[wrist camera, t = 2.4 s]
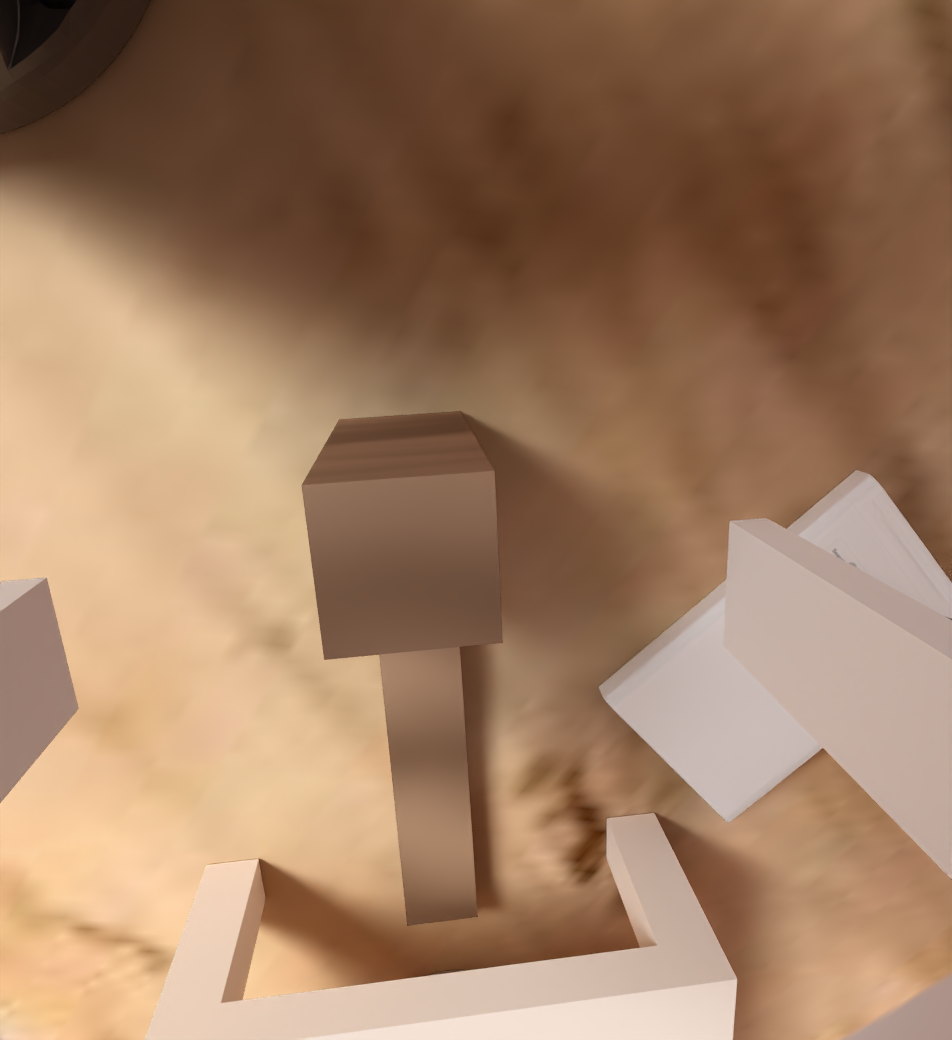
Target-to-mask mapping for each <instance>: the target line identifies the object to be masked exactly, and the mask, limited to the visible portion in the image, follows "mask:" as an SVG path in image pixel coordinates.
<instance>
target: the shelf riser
mask: <svg viewBox="0 0 952 1040" xmlns="http://www.w3.org/2000/svg"><path fill="white" fill-rule="evenodd" d="M607 861H608V863H609V866H610V869H611V871H612V874H613V877H614V879H615V882H616V885H617V887H618V890H619V893H620V896H621V898H622V901H623V904H624V906H625V909H626V912H627V914H628V917H629V920H630V922H631V925H632V928H633V931H634V933H635V936H636V939H637V941H638V944H639V947H640V948H635V949H627V950H619V951H612V952H604V953H597V954H589V955H582V956H574V957H566V958H559V959H551V960H544V961H536V962H529V963H521V964H513V965H506V966H498V967H491V968H483V969H476V970H468V971H460V972H453V973H445V974H438V975H430V976H423V977H415V978H407V979H400V980H392V981H385V982H377V983H370V984H362V985H354V986H347V987H339V988H332V989H324V990H316V991H309V992H301V993H294V994H286V995H279V996H271V997H263V998H256V999H248V1000H242V999H243V995H244V991H245V986H246V982H247V978H248V973H249V969H250V965H251V960H252V956H253V952H254V948H255V943H256V939H257V935H258V930H259V926H260V922H261V917H262V913H263V909H264V904H265V900H266V898H265V892H264V887H263V881H262V876H261V870H260V864H259V859H253V860H244V861H236V862H227V863H219V864H210V865H206V868H205V870H204V873H203V876H202V879H201V882H200V885H199V887H198V890H197V893H196V896H195V899H194V902H193V904H192V907H191V910H190V913H189V916H188V919H187V921H186V924H185V927H184V930H183V933H182V936H181V938H180V941H179V944H178V947H177V950H176V953H175V955H174V958H173V961H172V964H171V967H170V970H169V972H168V975H167V978H166V981H165V984H164V987H163V989H162V992H161V995H160V998H159V1001H158V1004H157V1006H156V1009H155V1012H154V1015H153V1018H152V1020H151V1023H150V1026H149V1029H148V1032H147V1035H146V1037H145V1040H733V1030H734V1017H735V1003H736V990H737V978H736V976H735V974H734V972H733V970H732V968H731V966H730V964H729V962H728V960H727V958H726V956H725V954H724V952H723V950H722V948H721V946H720V944H719V942H718V940H717V938H716V936H715V934H714V932H713V930H712V928H711V926H710V924H709V922H708V920H707V918H706V916H705V914H704V912H703V910H702V908H701V906H700V904H699V902H698V900H697V898H696V896H695V894H694V892H693V890H692V888H691V886H690V884H689V882H688V880H687V878H686V876H685V874H684V872H683V870H682V868H681V866H680V864H679V861H678V859H677V857H676V855H675V853H674V851H673V849H672V847H671V845H670V843H669V841H668V839H667V837H666V835H665V833H664V831H663V829H662V827H661V825H660V823H659V821H658V819H657V817H656V815H655V813H648V814H640V815H631V816H623V817H614V818H607Z"/></svg>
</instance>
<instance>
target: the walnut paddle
mask: <svg viewBox="0 0 952 1040" xmlns="http://www.w3.org/2000/svg"><path fill="white" fill-rule="evenodd" d="M302 492H303V499H304V507H305V515H306V522H307V530H308V538H309V546H310V553H311V561H312V569H313V576H314V584H315V592H316V599H317V607H318V615H319V623H320V630H321V638H322V646H323V653H324V660H327V659H337V658H348V657H358V656H369V655H379V656H380V666H381V676H382V685H383V695H384V704H385V714H386V724H387V733H388V743H389V753H390V762H391V772H392V781H393V791H394V801H395V810H396V820H397V830H398V839H399V849H400V858H401V868H402V878H403V887H404V897H405V907H406V916H407V926H409V925H417V924H425V923H433V922H441V921H448V920H456V919H464V918H472V917H478V915H477V900H476V885H475V870H474V854H473V839H472V824H471V809H470V794H469V779H468V764H467V748H466V733H465V718H464V703H463V688H462V673H461V657H460V647H464V646H474V645H485V644H496V643H503V641H502V619H501V597H500V575H499V553H498V532H497V510H496V488H495V471H494V469H493V467H492V465H491V464H490V462H489V460H488V458H487V457H486V455H485V453H484V451H483V450H482V448H481V446H480V444H479V443H478V441H477V439H476V437H475V436H474V434H473V432H472V430H471V429H470V427H469V425H468V423H467V422H466V420H465V418H464V416H463V415H462V413H461V411H458V412H443V413H429V414H414V415H399V416H384V417H369V418H354V419H339V421H338V423H337V424H336V426H335V428H334V430H333V431H332V433H331V435H330V437H329V438H328V440H327V442H326V444H325V445H324V447H323V449H322V451H321V452H320V454H319V456H318V458H317V459H316V461H315V463H314V465H313V466H312V468H311V470H310V472H309V473H308V475H307V477H306V479H305V480H304V482H303V484H302Z"/></svg>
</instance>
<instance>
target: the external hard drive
mask: <svg viewBox="0 0 952 1040" xmlns="http://www.w3.org/2000/svg"><path fill="white" fill-rule="evenodd" d="M786 529H787V530H789V531H791V532H793V533H794V534H796V535H798V536H800V537H802V538H803V539H805V540H807V541H809V542H811V543H813V544H814V545H816V546H818V547H820V548H822V549H823V550H825V551H827V552H829V553H831V554H832V555H834V556H836V557H838V558H840V559H842V560H843V561H845V562H847V563H849V564H851V565H852V566H854V567H856V568H858V569H860V570H861V571H863V572H865V573H867V574H869V575H871V576H872V577H874V578H876V579H878V580H880V581H881V582H883V583H885V584H887V585H889V586H890V587H892V588H894V589H896V590H898V591H900V592H901V593H903V594H905V595H907V596H909V597H910V598H912V599H914V600H916V601H918V602H920V603H921V604H923V605H925V606H927V607H929V608H930V609H932V610H934V611H936V612H938V613H939V614H941V615H943V616H945V617H948V618H951V619H952V582H951V581H950V579H949V578H948V577H947V576H946V574H945V573H944V571H943V570H942V569H941V567H940V566H939V565H938V563H937V562H936V560H935V559H934V558H933V556H932V555H931V553H930V552H929V550H928V549H927V548H926V546H925V545H924V544H923V542H922V541H921V540H920V538H919V537H918V535H917V534H916V533H915V531H914V530H913V529H912V527H911V526H910V524H909V523H908V522H907V520H906V519H905V517H904V516H903V515H902V513H901V512H900V511H899V509H898V508H897V507H896V505H895V504H894V502H893V501H892V500H891V498H890V497H889V496H888V494H887V493H886V491H885V490H884V488H883V487H882V486H881V485H880V484H879V483H878V481H877V480H876V479H875V478H874V477H873V476H871V475H870V474H867V473H864V472H862V471H858V470H855V471H854V472H853V473H852V474H850V475H849V476H848V477H847V478H846V479H844V480H843V481H842V482H841V483H840V484H838V485H837V486H836V487H835V488H834V489H833V490H831V491H830V492H829V493H828V494H827V495H825V496H824V497H823V498H822V499H821V500H820V501H818V502H817V503H816V504H815V505H814V506H812V507H811V508H810V509H809V510H808V511H807V512H805V513H804V514H803V515H802V516H801V517H799V518H798V519H797V520H796V521H795V522H793V523H792V524H791V525H790V526H789V527H787V528H786ZM726 581H727V579H726V580H724V581H723V582H722V583H721V584H720V585H719V586H717V587H716V588H715V589H714V590H713V591H712V592H710V593H709V594H708V595H707V596H706V597H704V598H703V599H702V600H701V601H700V602H699V603H697V604H696V605H695V606H694V607H693V608H691V609H690V610H689V611H688V612H687V613H685V614H684V615H683V616H682V617H681V618H679V619H678V620H677V621H676V622H675V623H673V624H672V625H671V626H670V627H669V628H667V629H666V630H665V631H664V632H663V633H661V634H660V635H659V636H658V637H657V638H655V639H654V640H653V641H652V642H651V643H650V644H648V645H647V646H646V647H645V648H644V649H643V650H641V651H640V652H639V653H638V654H637V655H635V656H634V657H633V658H632V659H631V660H629V661H628V662H627V663H626V664H625V665H623V666H622V667H621V668H620V669H619V670H617V671H616V672H615V673H614V674H613V675H612V676H610V677H609V678H608V679H607V680H606V681H604V682H603V683H602V684H601V685H600V686H599V687H598V688H599V690H600V692H601V694H602V696H603V698H604V700H605V701H606V702H607V703H608V704H609V706H610V707H611V708H612V709H613V710H614V711H615V712H616V713H617V714H618V715H619V716H620V717H621V718H622V719H623V720H624V721H625V722H626V723H627V724H628V725H629V726H630V727H631V728H632V729H633V730H634V731H635V732H636V733H637V734H638V735H639V736H640V737H641V738H642V739H643V740H644V741H645V742H646V743H647V744H648V745H649V746H650V747H651V748H652V749H653V750H654V751H655V752H656V753H657V754H658V755H659V756H660V757H661V758H662V759H663V760H665V761H666V763H667V764H669V766H671V767H672V768H673V769H674V770H675V771H676V772H677V773H678V774H679V775H680V777H681V778H682V779H683V780H685V781H686V782H687V783H688V784H689V785H690V786H691V787H692V788H693V789H694V790H695V791H696V792H697V793H698V795H699V796H701V797H702V798H703V799H704V800H705V801H706V802H707V803H708V804H709V805H710V806H711V807H712V808H713V809H714V810H715V811H716V812H717V813H718V814H719V815H720V816H721V817H722V818H723V819H724V820H725V821H726V822H727V823H729V822H731V821H732V820H734V819H735V818H736V817H737V816H739V815H740V814H741V813H742V812H744V811H745V810H746V809H747V808H749V807H750V806H751V805H753V804H754V803H755V802H756V801H758V800H759V799H760V798H761V797H762V796H764V795H765V794H766V793H768V792H769V791H770V790H771V789H772V788H774V787H775V786H776V785H777V784H779V783H780V782H781V781H782V780H784V779H785V778H786V777H787V776H789V775H790V774H791V773H792V772H794V771H795V770H796V769H797V768H799V767H800V766H801V765H802V764H804V763H805V762H806V761H807V760H809V759H810V758H811V757H812V756H814V755H815V754H816V753H817V752H819V751H820V750H821V749H822V748H823V747H822V746H821V745H820V744H819V743H818V742H817V741H816V740H815V739H814V738H813V737H812V736H811V735H810V734H809V733H808V732H807V731H806V730H805V729H804V728H803V727H802V726H801V725H800V724H799V723H798V722H797V721H796V720H795V719H794V718H793V717H792V716H791V715H790V714H789V713H788V712H787V711H786V710H785V708H784V707H783V706H782V705H781V704H780V703H779V702H778V701H777V700H776V699H775V698H774V697H773V696H772V695H771V694H770V693H769V692H768V691H767V690H766V689H765V688H764V687H763V686H762V685H761V684H760V683H759V682H758V681H757V680H756V679H755V678H754V677H753V676H752V675H751V674H750V673H749V672H748V671H747V670H746V669H745V668H744V666H743V665H742V664H741V663H740V662H739V661H738V660H737V659H736V658H735V657H734V656H733V655H732V654H731V653H730V652H729V651H728V650H727V649H726V648H725V647H724V646H723V639H724V619H725V600H726Z"/></svg>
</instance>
